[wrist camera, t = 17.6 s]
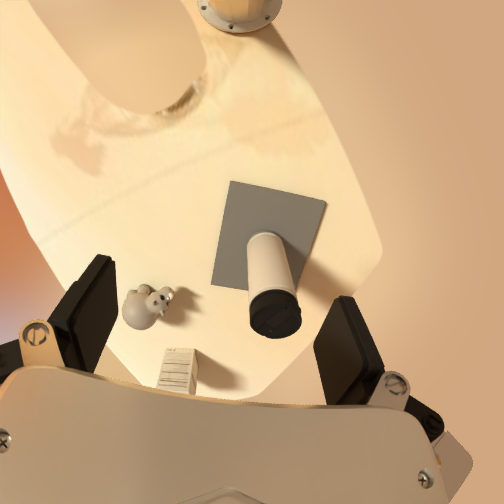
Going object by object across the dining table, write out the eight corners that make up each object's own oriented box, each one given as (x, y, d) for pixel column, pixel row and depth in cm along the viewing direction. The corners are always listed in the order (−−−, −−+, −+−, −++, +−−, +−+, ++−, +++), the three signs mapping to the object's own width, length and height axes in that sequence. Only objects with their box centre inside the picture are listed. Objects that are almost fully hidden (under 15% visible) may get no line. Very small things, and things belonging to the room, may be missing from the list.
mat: (230, 180, 46) (230, 182, 45) (324, 200, 48) (325, 202, 47) (211, 282, 55) (210, 284, 54) (291, 294, 57) (292, 297, 57)
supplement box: (199, 367, 68) (194, 409, 57) (170, 365, 68) (162, 406, 57) (195, 347, 64) (189, 392, 53) (165, 346, 64) (155, 389, 53)
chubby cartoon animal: (188, 294, 57) (181, 323, 49) (143, 313, 59) (133, 341, 51) (167, 267, 53) (157, 294, 46) (123, 289, 56) (109, 316, 48)
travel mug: (291, 241, 51) (315, 320, 33) (266, 267, 53) (277, 350, 35) (264, 220, 48) (276, 295, 31) (239, 248, 51) (238, 330, 33)
